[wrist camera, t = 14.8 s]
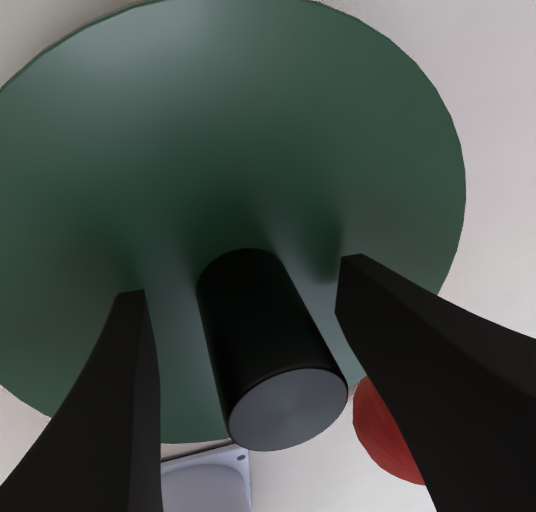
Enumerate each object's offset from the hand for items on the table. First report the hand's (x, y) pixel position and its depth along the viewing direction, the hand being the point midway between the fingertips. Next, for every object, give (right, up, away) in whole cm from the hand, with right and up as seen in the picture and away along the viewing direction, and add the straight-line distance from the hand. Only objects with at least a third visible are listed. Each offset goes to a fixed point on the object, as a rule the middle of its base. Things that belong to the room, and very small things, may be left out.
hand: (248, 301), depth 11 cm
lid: (0, +1, +1) cm, 1 cm away
